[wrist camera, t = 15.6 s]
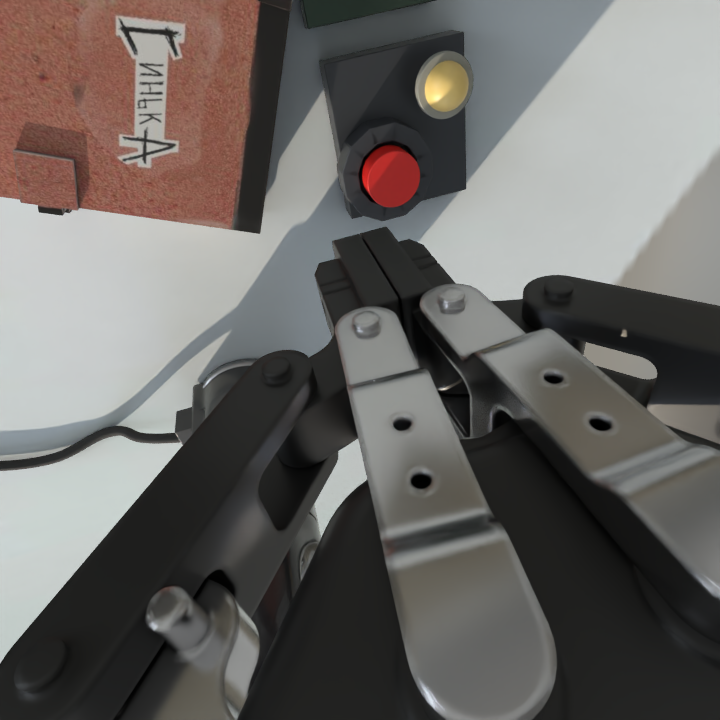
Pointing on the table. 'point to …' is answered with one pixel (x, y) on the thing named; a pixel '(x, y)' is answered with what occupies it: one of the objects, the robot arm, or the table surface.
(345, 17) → the switch bracket
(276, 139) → the table surface
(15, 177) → the book
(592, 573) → the robot arm
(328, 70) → the emergency stop panel
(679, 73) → the table surface
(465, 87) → the lamp lens
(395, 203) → the button
